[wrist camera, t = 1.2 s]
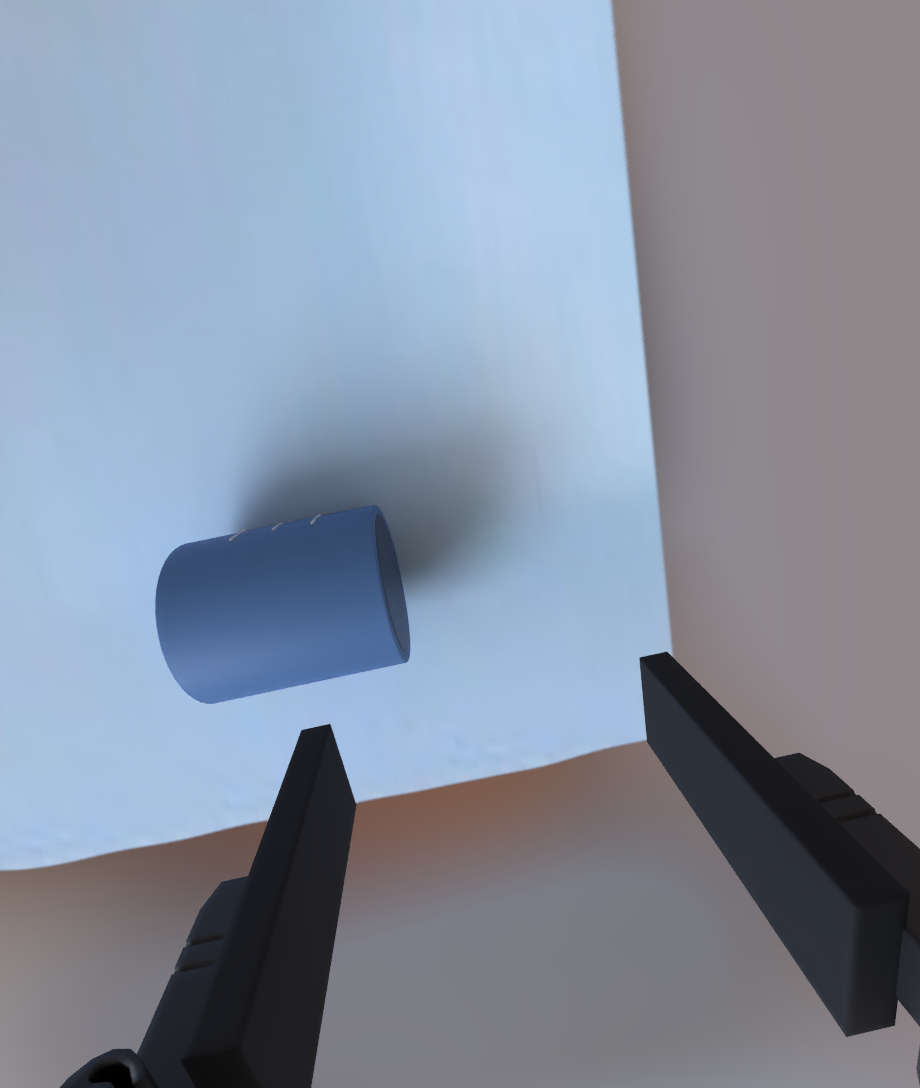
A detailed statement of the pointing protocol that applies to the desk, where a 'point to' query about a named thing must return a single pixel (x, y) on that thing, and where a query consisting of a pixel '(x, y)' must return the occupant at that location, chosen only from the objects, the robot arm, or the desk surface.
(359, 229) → the desk surface
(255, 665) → the measuring cup
